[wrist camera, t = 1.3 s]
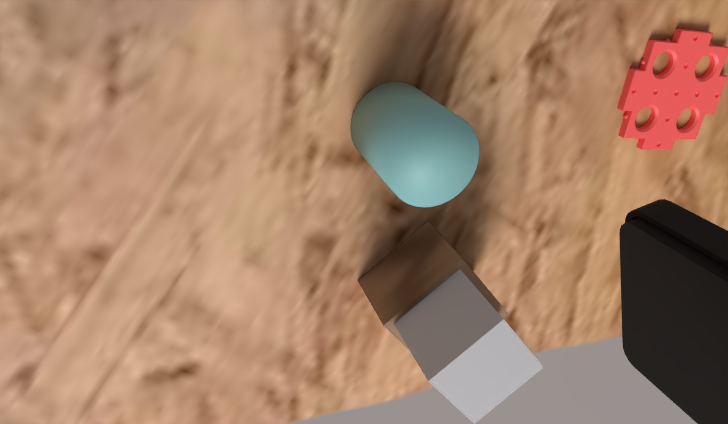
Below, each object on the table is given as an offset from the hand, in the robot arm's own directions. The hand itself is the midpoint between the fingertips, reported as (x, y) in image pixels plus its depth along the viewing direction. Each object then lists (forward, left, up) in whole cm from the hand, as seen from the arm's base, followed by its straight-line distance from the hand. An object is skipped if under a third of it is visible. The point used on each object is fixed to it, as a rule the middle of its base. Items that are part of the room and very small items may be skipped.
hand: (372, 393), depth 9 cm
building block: (-21, +22, -25) cm, 39 cm away
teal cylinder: (-5, +10, -25) cm, 27 cm away
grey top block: (0, +20, -20) cm, 28 cm away
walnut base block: (0, +20, -25) cm, 32 cm away
